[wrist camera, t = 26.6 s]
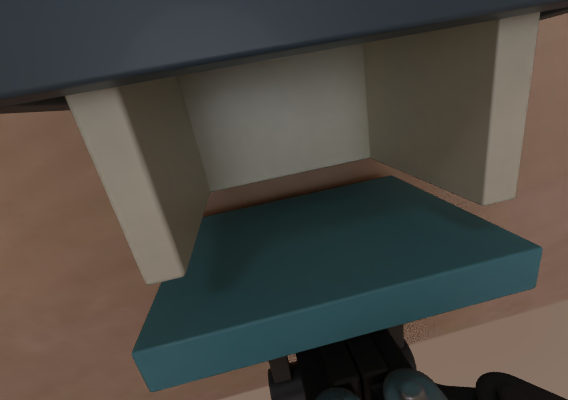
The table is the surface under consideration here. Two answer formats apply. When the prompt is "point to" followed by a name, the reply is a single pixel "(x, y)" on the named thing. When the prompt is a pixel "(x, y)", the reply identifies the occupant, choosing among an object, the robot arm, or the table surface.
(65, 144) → the table surface
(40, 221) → the table surface
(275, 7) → the dark grey drawer cabinet
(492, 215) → the table surface
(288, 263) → the drawer
